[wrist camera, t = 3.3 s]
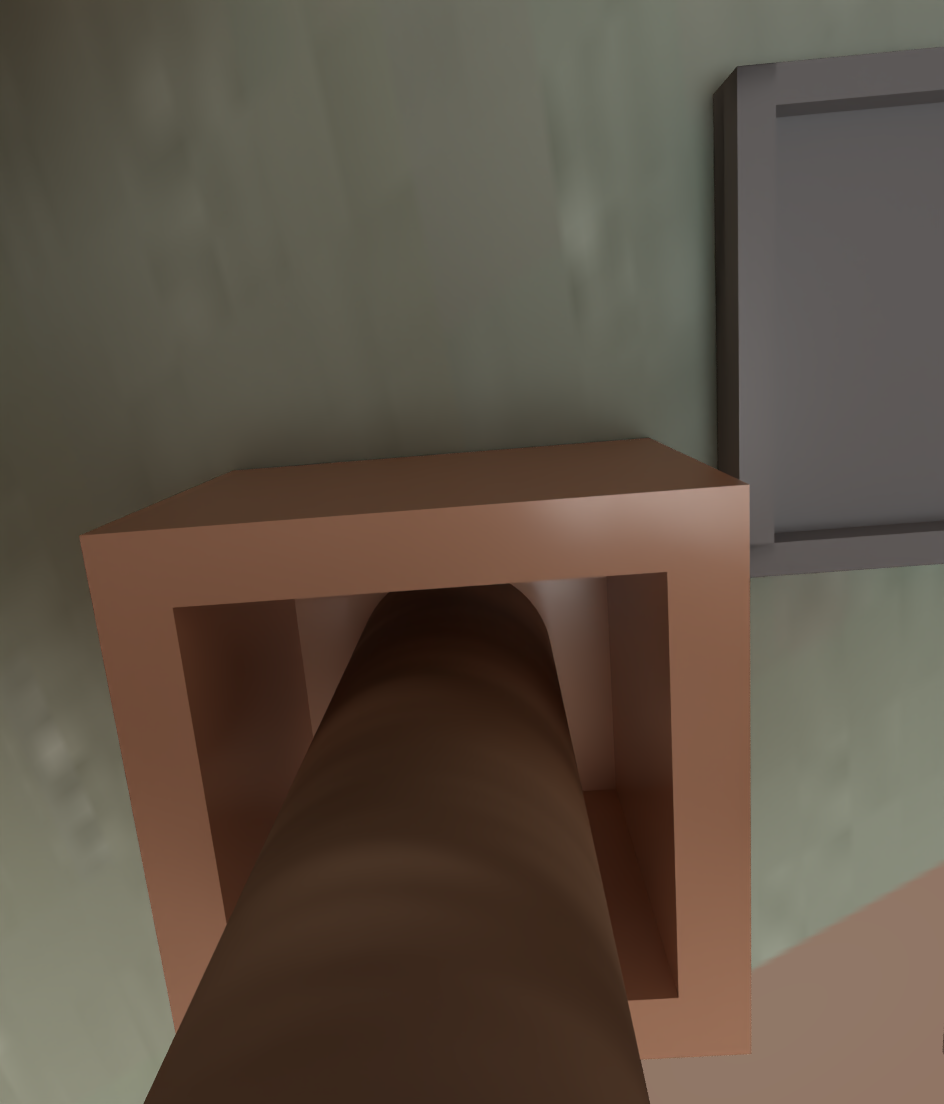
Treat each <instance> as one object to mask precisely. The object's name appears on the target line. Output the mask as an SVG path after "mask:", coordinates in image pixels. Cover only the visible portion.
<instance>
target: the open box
mask: <svg viewBox="0 0 944 1104" xmlns="http://www.w3.org/2000/svg"><path fill="white" fill-rule="evenodd" d="M79 538H80V543H81V548H82V553H83V558H84V563H85V568H86V574H87V579H88V584H89V589H90V594H91V599H92V604H93V610H94V615H95V620H96V625H97V630H98V635H99V641H100V646H101V651H102V656H103V661H104V666H105V671H106V677H107V682H108V687H109V692H110V697H111V702H112V708H113V713H114V718H115V723H116V728H117V733H118V738H119V744H120V749H121V754H122V759H123V764H124V769H125V774H126V780H127V785H128V790H129V795H130V800H131V805H132V811H133V816H134V821H135V826H136V831H137V836H138V841H139V847H140V852H141V857H142V862H143V867H144V872H145V878H146V883H147V888H148V893H149V898H150V903H151V908H152V914H153V919H154V924H155V929H156V934H157V939H158V944H159V950H160V955H161V960H162V965H163V970H164V975H165V981H166V986H167V991H168V996H169V1001H170V1006H171V1011H172V1017H173V1022H174V1027H175V1032H176V1033H177V1031H178V1028H179V1026H180V1024H181V1022H182V1020H183V1018H184V1016H185V1013H186V1011H187V1009H188V1007H189V1005H190V1003H191V1000H192V998H193V996H194V994H195V992H196V990H197V988H198V985H199V983H200V981H201V979H202V977H203V975H204V972H205V970H206V968H207V966H208V964H209V962H210V960H211V957H212V955H213V953H214V951H215V949H216V947H217V944H218V942H219V940H220V938H221V936H222V934H223V932H224V929H225V927H226V925H227V923H228V921H229V919H230V916H231V914H232V912H233V910H234V908H235V906H236V904H237V901H238V899H239V897H240V895H241V893H242V891H243V888H244V886H245V884H246V882H247V880H248V878H249V876H250V873H251V871H252V869H253V867H254V865H255V863H256V861H257V858H258V856H259V854H260V852H261V850H262V848H263V845H264V843H265V841H266V839H267V837H268V835H269V833H270V830H271V828H272V826H273V824H274V822H275V820H276V817H277V815H278V813H279V811H280V809H281V807H282V805H283V802H284V800H285V798H286V796H287V794H288V792H289V789H290V787H291V785H292V783H293V781H294V779H295V777H296V774H297V772H298V770H299V768H300V766H301V764H302V761H303V759H304V757H305V755H306V753H307V751H308V749H309V746H310V744H311V742H312V740H313V738H314V736H315V734H316V731H317V729H318V727H319V725H320V723H321V721H322V718H323V716H324V714H325V712H326V710H327V708H328V706H329V703H330V701H331V699H332V697H333V695H334V693H335V690H336V688H337V686H338V684H339V682H340V680H341V678H342V675H343V673H344V671H345V669H346V667H347V665H348V662H349V660H350V658H351V656H352V654H353V652H354V650H355V647H356V645H357V643H358V641H359V639H360V637H361V634H362V632H363V630H364V628H365V626H366V624H367V622H368V620H369V618H370V616H371V614H372V612H373V611H374V609H375V608H376V606H377V605H378V604H379V602H380V601H381V600H382V599H383V598H384V597H385V596H386V595H387V594H388V593H389V592H395V591H409V590H423V589H437V588H450V587H464V586H478V585H492V584H506V583H510V584H512V585H513V586H514V587H516V588H517V589H518V590H520V591H521V592H522V593H523V594H524V595H525V596H526V597H527V598H528V599H529V600H530V602H531V603H532V604H533V605H534V607H535V608H536V609H537V611H538V613H539V614H540V616H541V618H542V619H543V622H544V624H545V626H546V629H547V632H548V635H549V639H550V643H551V648H552V652H553V657H554V661H555V666H556V671H557V675H558V680H559V685H560V689H561V694H562V698H563V703H564V708H565V712H566V717H567V722H568V726H569V731H570V736H571V740H572V745H573V749H574V754H575V759H576V763H577V768H578V773H579V777H580V782H581V786H582V791H583V796H584V800H585V805H586V810H587V814H588V819H589V824H590V828H591V833H592V837H593V842H594V847H595V851H596V856H597V861H598V865H599V870H600V874H601V879H602V884H603V888H604V893H605V898H606V902H607V907H608V912H609V916H610V921H611V925H612V930H613V935H614V939H615V944H616V949H617V953H618V958H619V962H620V967H621V972H622V976H623V981H624V986H625V990H626V995H627V1000H628V1004H629V1009H630V1013H631V1018H632V1023H633V1027H634V1032H635V1037H636V1041H637V1046H638V1050H639V1055H640V1060H643V1059H662V1058H680V1057H701V1056H721V1055H741V1054H751V806H750V485H749V484H747V483H745V482H743V481H741V480H739V479H737V478H734V477H732V476H730V475H728V474H726V473H724V472H721V471H719V470H717V469H715V468H713V467H711V466H709V465H706V464H704V463H702V462H700V461H698V460H696V459H694V458H691V457H689V456H687V455H685V454H683V453H681V452H679V451H676V450H674V449H672V448H670V447H668V446H666V445H664V444H661V443H659V442H657V441H655V440H653V439H651V438H641V439H628V440H615V441H603V442H590V443H577V444H564V445H552V446H539V447H526V448H514V449H501V450H488V451H475V452H463V453H450V454H437V455H424V456H412V457H399V458H386V459H374V460H361V461H348V462H335V463H323V464H310V465H297V466H285V467H272V468H259V469H246V470H234V471H230V472H228V473H226V474H223V475H221V476H219V477H216V478H214V479H212V480H209V481H207V482H205V483H202V484H200V485H197V486H195V487H193V488H190V489H188V490H186V491H183V492H181V493H179V494H176V495H174V496H171V497H169V498H167V499H164V500H162V501H160V502H157V503H155V504H153V505H150V506H148V507H146V508H143V509H141V510H138V511H136V512H134V513H131V514H129V515H127V516H124V517H122V518H120V519H117V520H115V521H112V522H110V523H108V524H105V525H103V526H101V527H98V528H96V529H94V530H91V531H89V532H86V533H84V534H82V535H79Z"/></svg>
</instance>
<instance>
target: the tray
mask: <svg viewBox="0 0 944 1104" xmlns="http://www.w3.org/2000/svg"><path fill="white" fill-rule="evenodd" d="M714 176H715V260H716V344H717V428H718V470H719V471H721V472H724V473H726V474H728V475H730V476H732V477H734V478H737V479H739V480H741V481H743V482H745V483H747V484H749V485H750V578H751V577H765V576H779V575H793V574H806V573H820V572H834V571H848V570H862V569H876V568H890V567H904V566H918V565H931V564H944V47H935V48H925V49H914V50H904V51H893V52H883V53H872V54H862V55H851V56H841V57H830V58H820V59H809V60H798V61H788V62H777V63H767V64H756V65H746V66H737V67H736V68H735V69H734V71H733V72H732V73H731V74H730V75H729V77H728V78H727V79H726V80H725V81H724V82H723V84H722V85H721V86H720V87H719V88H718V90H717V91H716V92H715V93H714Z"/></svg>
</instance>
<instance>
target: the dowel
mask: <svg viewBox="0 0 944 1104" xmlns="http://www.w3.org/2000/svg"><path fill="white" fill-rule="evenodd" d="M144 1104H650V1101H649V1097H648V1092H647V1088H646V1083H645V1078H644V1074H643V1069H642V1064H641V1060H640V1055H639V1050H638V1046H637V1041H636V1037H635V1032H634V1027H633V1023H632V1018H631V1013H630V1009H629V1004H628V1000H627V995H626V990H625V986H624V981H623V976H622V972H621V967H620V962H619V958H618V953H617V949H616V944H615V939H614V935H613V930H612V925H611V921H610V916H609V912H608V907H607V902H606V898H605V893H604V888H603V884H602V879H601V874H600V870H599V865H598V861H597V856H596V851H595V847H594V842H593V837H592V833H591V828H590V824H589V819H588V814H587V810H586V805H585V800H584V796H583V791H582V786H581V782H580V777H579V773H578V768H577V763H576V759H575V754H574V749H573V745H572V740H571V736H570V731H569V726H568V722H567V717H566V712H565V708H564V703H563V698H562V694H561V689H560V685H559V680H558V675H557V671H556V666H555V661H554V657H553V652H552V648H551V643H550V639H549V635H548V632H547V629H546V626H545V624H544V622H543V619H542V618H541V616H540V614H539V613H538V611H537V609H536V608H535V607H534V605H533V604H532V603H531V602H530V600H529V599H528V598H527V597H526V596H525V595H524V594H523V593H522V592H521V591H520V590H518V589H517V588H516V587H514V586H513V585H512V584H510V583H506V584H492V585H478V586H464V587H450V588H437V589H423V590H409V591H395V592H389V593H388V594H387V595H386V596H385V597H384V598H383V599H382V600H381V601H380V602H379V604H378V605H377V606H376V608H375V609H374V611H373V612H372V614H371V616H370V618H369V620H368V622H367V624H366V626H365V628H364V630H363V632H362V634H361V637H360V639H359V641H358V643H357V645H356V647H355V650H354V652H353V654H352V656H351V658H350V660H349V662H348V665H347V667H346V669H345V671H344V673H343V675H342V678H341V680H340V682H339V684H338V686H337V688H336V690H335V693H334V695H333V697H332V699H331V701H330V703H329V706H328V708H327V710H326V712H325V714H324V716H323V718H322V721H321V723H320V725H319V727H318V729H317V731H316V734H315V736H314V738H313V740H312V742H311V744H310V746H309V749H308V751H307V753H306V755H305V757H304V759H303V761H302V764H301V766H300V768H299V770H298V772H297V774H296V777H295V779H294V781H293V783H292V785H291V787H290V789H289V792H288V794H287V796H286V798H285V800H284V802H283V805H282V807H281V809H280V811H279V813H278V815H277V817H276V820H275V822H274V824H273V826H272V828H271V830H270V833H269V835H268V837H267V839H266V841H265V843H264V845H263V848H262V850H261V852H260V854H259V856H258V858H257V861H256V863H255V865H254V867H253V869H252V871H251V873H250V876H249V878H248V880H247V882H246V884H245V886H244V888H243V891H242V893H241V895H240V897H239V899H238V901H237V904H236V906H235V908H234V910H233V912H232V914H231V916H230V919H229V921H228V923H227V925H226V927H225V929H224V932H223V934H222V936H221V938H220V940H219V942H218V944H217V947H216V949H215V951H214V953H213V955H212V957H211V960H210V962H209V964H208V966H207V968H206V970H205V972H204V975H203V977H202V979H201V981H200V983H199V985H198V988H197V990H196V992H195V994H194V996H193V998H192V1000H191V1003H190V1005H189V1007H188V1009H187V1011H186V1013H185V1016H184V1018H183V1020H182V1022H181V1024H180V1026H179V1028H178V1031H177V1033H176V1035H175V1037H174V1039H173V1041H172V1043H171V1046H170V1048H169V1050H168V1052H167V1054H166V1056H165V1059H164V1061H163V1063H162V1065H161V1067H160V1069H159V1071H158V1074H157V1076H156V1078H155V1080H154V1082H153V1084H152V1087H151V1089H150V1091H149V1093H148V1095H147V1097H146V1099H145V1102H144Z"/></svg>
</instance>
